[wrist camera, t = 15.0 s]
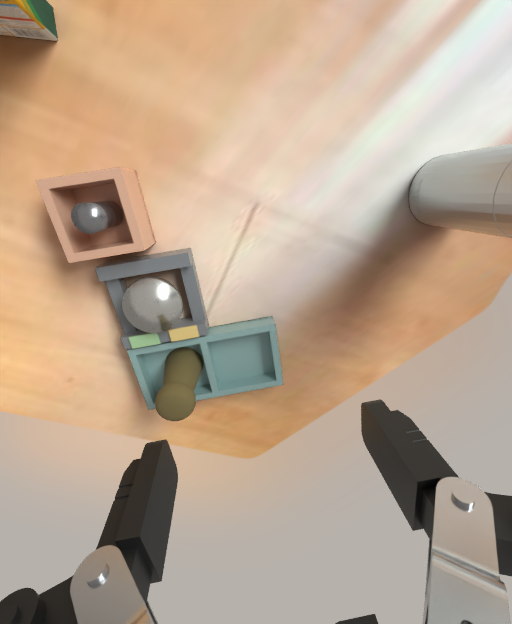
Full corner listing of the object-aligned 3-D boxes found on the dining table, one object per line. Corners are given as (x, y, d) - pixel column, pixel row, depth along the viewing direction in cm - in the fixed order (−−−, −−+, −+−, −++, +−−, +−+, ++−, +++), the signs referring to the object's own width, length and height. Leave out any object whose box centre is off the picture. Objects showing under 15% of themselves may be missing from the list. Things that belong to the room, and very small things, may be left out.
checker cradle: (190, 247, 41) (187, 253, 38) (208, 324, 46) (207, 335, 42) (104, 262, 41) (93, 268, 37) (131, 338, 45) (124, 350, 42)
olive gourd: (193, 384, 49) (185, 434, 39) (159, 370, 47) (141, 419, 37) (210, 356, 47) (206, 401, 37) (175, 340, 46) (160, 383, 35)
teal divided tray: (272, 316, 46) (275, 324, 44) (280, 374, 51) (283, 384, 48) (132, 340, 46) (126, 350, 43) (152, 397, 50) (148, 409, 47)
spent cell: (118, 198, 37) (96, 200, 31) (126, 224, 39) (107, 231, 32) (93, 203, 37) (66, 205, 31) (102, 228, 39) (77, 236, 32)
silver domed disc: (177, 267, 41) (173, 274, 37) (190, 317, 44) (187, 327, 40) (123, 277, 41) (113, 284, 37) (139, 326, 43) (132, 337, 40)
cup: (135, 170, 37) (120, 166, 31) (155, 242, 40) (144, 250, 35) (63, 182, 37) (35, 180, 31) (90, 253, 40) (68, 263, 35)
